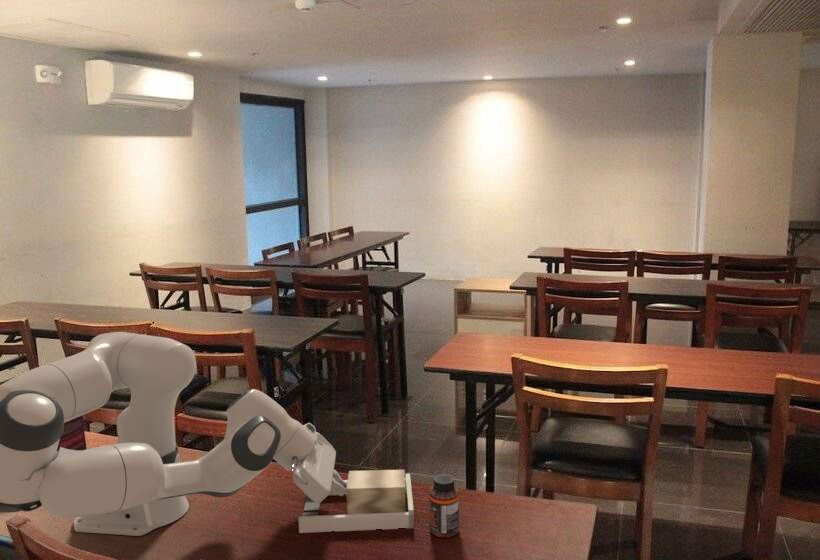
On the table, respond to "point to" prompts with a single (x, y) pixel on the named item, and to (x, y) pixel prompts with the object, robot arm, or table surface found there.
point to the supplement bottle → (444, 507)
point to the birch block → (376, 491)
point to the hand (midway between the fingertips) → (344, 490)
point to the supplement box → (73, 435)
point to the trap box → (356, 517)
